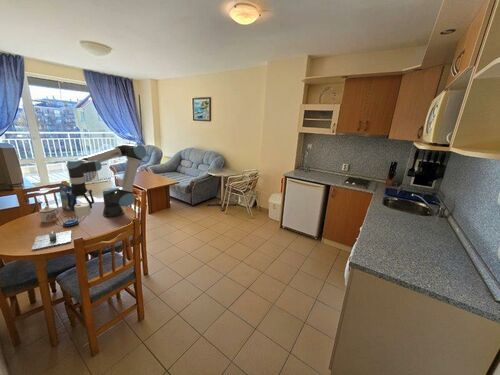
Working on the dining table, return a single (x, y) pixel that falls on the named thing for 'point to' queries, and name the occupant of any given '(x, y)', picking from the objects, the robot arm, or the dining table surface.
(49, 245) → the panel
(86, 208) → the white box
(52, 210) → the teacup with lid
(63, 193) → the blue food package
